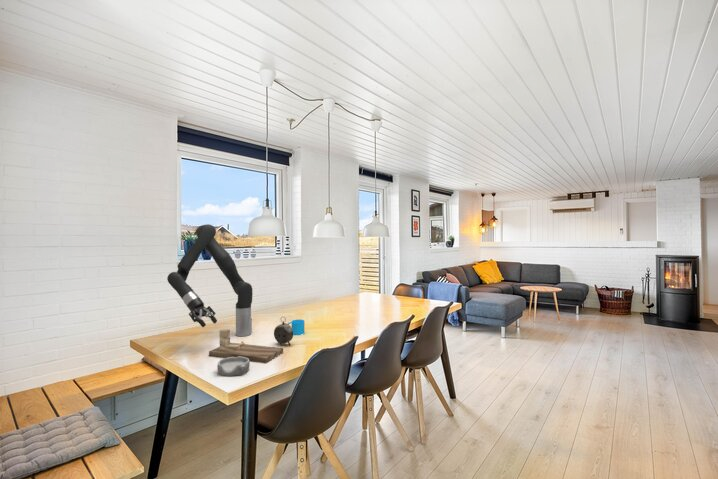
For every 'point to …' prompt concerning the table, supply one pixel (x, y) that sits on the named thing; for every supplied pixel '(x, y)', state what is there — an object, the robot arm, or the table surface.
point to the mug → (297, 326)
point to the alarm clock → (283, 333)
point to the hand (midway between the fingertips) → (210, 324)
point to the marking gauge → (228, 341)
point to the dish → (233, 366)
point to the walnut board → (249, 353)
